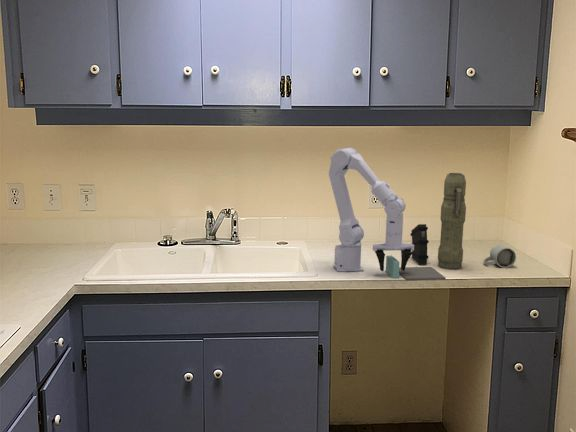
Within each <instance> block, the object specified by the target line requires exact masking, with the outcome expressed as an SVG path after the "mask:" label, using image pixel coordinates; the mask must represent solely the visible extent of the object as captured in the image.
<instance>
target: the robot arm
mask: <svg viewBox="0 0 576 432" xmlns="http://www.w3.org/2000/svg"><path fill="white" fill-rule="evenodd" d="M330 160H331V161H330V166H329V170H328V177H329V181H330V185H331V189H332V192H333V193H332V194H333V196H334V200H335V204H336V208H337V212H338V217H339V220H340V222H339V225H338V229H339V235H338V239H339V242H340V243H341V244H338V245H335V247H334V263H333V266H334V268H335V269H336V270H337V272H364V271H365V270H364V268H363V267H362V265H361V261H362V260H361V259H362V258H361V257H362V240H363V238H364V235H365V231H364V228H363V227H362V226H361V225H360V223H359V220H358V219H357V218H356V216H355V213H354V212H355V211H354V209H353V205H352V200H351V197H350V194H349V189H348V185H347V181H346V178H345V175H346V174H347V172H348V170H353V171H356V172H358V173H359V175H360V176H362V177H363V179H364V180H365V181H366V182H367V183H368V184H369V186H371V192H372V194H373V195H374V196H375V198H377V200H378V201H379V203H380V204H381V205H382V206H383V207H384V208H383V209H384V212H385V214H386V220H385V221H386V223H385V239H384V240H385V243H379V244H372V251H373V252H374V253H375V255H376V258H377V260H378V263H379V264H378V265H379V270H380V272H384V269H385V259H386V253H385V251H386V252H387V251H400V255H401V261H400V267H401V270H403V271H405V267H407V263H408V262H409V259H410V258H411V257H412V250H414V245H413V244H412V243H403V229H404V228H403V225H404V220H403V219H404V213H403V212H404V211H405V209H406V202H405V201H404V199H403V198H401V197H399V195H398V193H397V194H396V193H395V192H394V191H393V189H392V188H391V187H390V186H391V185H390V183H389V182H386V181H384V180H380V179H379V178H378V177H377V175H376V174H375V173H374V172H373V171H372V169H371V168H370V167H369V165H368V164H367V162H366V161H365V159H364V158H363V156H362V154H360V153H358V150H357V149H355V148H353V147H351V146H350V147H346V148H338V149H336V150H335V151H334V153H333V154H332V155H331V157H330Z"/></svg>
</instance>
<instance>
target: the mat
mask: <svg viewBox="0 0 576 432" xmlns="http://www.w3.org/2000/svg"><path fill="white" fill-rule="evenodd" d="M399 276H401V277H402V278H404V280H405V281H431V280H432V281H433V280H435V281H436V280H446V279H447V277H446V276H444V275H443V274H442V273H440V272H439V271H437V270H436V269H435V268H434V267H432V266H412V267H411V266H408V267H407V266H406V267H405V271H403V270H401V266H399Z"/></svg>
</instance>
